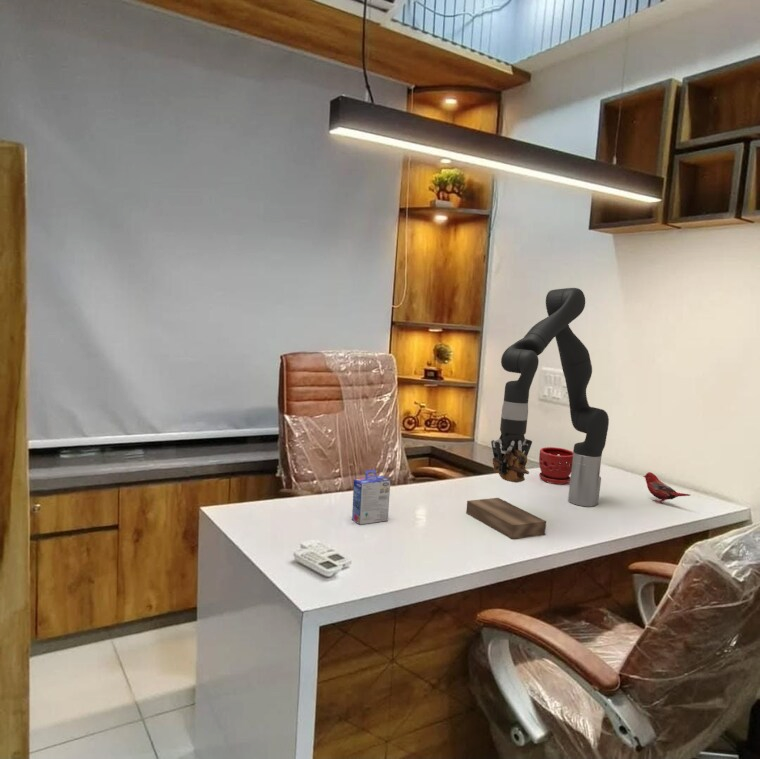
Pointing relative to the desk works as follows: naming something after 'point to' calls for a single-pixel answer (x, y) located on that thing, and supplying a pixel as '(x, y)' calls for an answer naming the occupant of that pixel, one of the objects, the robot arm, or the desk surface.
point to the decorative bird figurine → (660, 489)
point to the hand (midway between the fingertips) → (508, 473)
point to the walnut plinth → (506, 518)
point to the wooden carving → (513, 466)
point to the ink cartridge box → (371, 499)
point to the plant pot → (555, 465)
